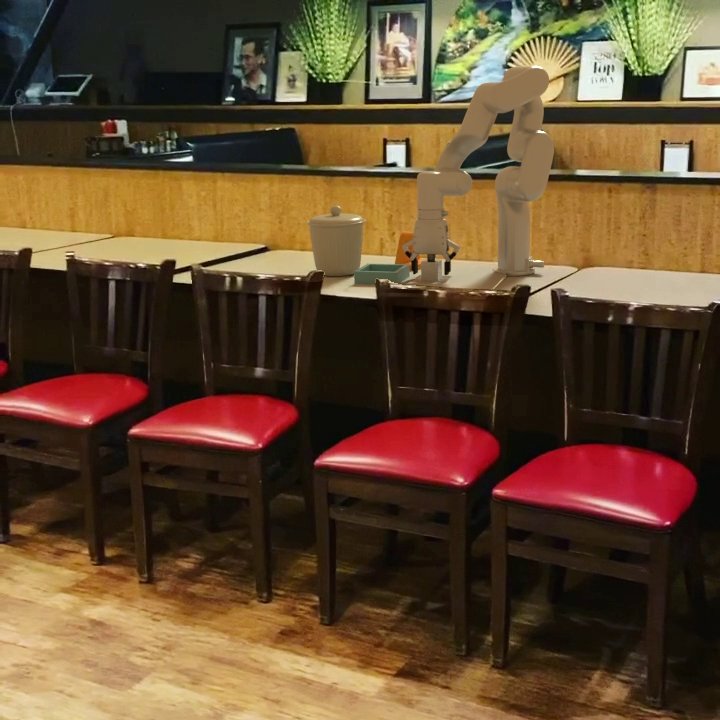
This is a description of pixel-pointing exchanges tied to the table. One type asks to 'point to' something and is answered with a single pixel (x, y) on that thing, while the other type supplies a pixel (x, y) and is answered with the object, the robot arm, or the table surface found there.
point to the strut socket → (431, 268)
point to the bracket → (401, 256)
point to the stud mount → (442, 280)
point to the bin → (381, 273)
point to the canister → (337, 242)
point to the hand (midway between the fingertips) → (431, 273)
